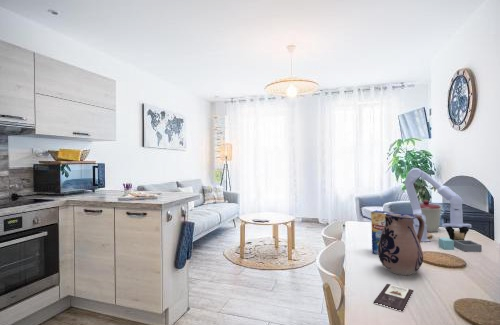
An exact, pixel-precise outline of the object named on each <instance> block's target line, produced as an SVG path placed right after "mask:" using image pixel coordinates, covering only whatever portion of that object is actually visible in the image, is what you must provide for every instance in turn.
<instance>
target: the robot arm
mask: <svg viewBox="0 0 500 325" xmlns="http://www.w3.org/2000/svg"><path fill="white" fill-rule="evenodd" d="M418 179H420V180H422V181H423V180H424V181H426V182H427V183H428V184H430V185H431V186H432V187H434V188H435V189H436V191H437V194H439V195H440V196H441V197H442V198H444V199H445V200H446V201H449V204H450V207H449V222H448V223H447V222H446V223H442V224H441V228H445V230H446V232H447V235H448V236H449V237H448V238H449V239H451V240H453V239H454V236H453V235H454V231H455V229H454V228H458V231H460V232H463V233H464V239H465V238H466V236H467V233H468V232H469V230H470V228H472V224H471V223H464V221H463V220H464V219H463V216H464V215H463V213H464V212H463V203H464V201H463V199H462V197H461V196H460V195H458V193H457V192H454V191H453V190H452V189H451V187H449V186H447V185H441V184H440V183H439V182H438V181H437V180H436V179H434V177H432V176H431V174H428V173H427V172H426V171H424V170H421V169H420V168H418V167H413V168H411V169H410V170H409V171H408V172H407V174H406V177H405V179H404V186H405V190H406V194H407V196H408V200H409V203H410V207H411V206H412V207H411V210H412V214H417V215H420V216H422V219H423V221H424V231H423V235H422V239H421V242H431V240H429V239H428V232H427V225H426V224H425V223H426V216H425V215H424V214H423V212H422V210H421V207H420V204H419V203H420V201H419V198H418V195H417V192H416V189H415V188H416V187H415V185H414V183H415V182H416V181H417V180H418ZM413 226H414V229H415V232H416V235H417V234H418V230H419V221H418V219H417V218H415V219H414V220H413Z"/></svg>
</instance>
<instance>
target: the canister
mask: <svg viewBox="0 0 500 325" xmlns="http://www.w3.org/2000/svg"><path fill="white" fill-rule="evenodd" d="M419 204H420V207H421V210H422V212H423V214H424V215H425V216H426V223H425V224H426V225H427V233H434V232H437V231H439V229H440V221H441V212H442V209H443V207H442V206H440V205H439V204H435V203H430V201H429V200H428V199H424V200H422V203H421V202H419ZM410 207H411V208H412V206H411V205H410Z"/></svg>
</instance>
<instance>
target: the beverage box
mask: <svg viewBox="0 0 500 325" xmlns="http://www.w3.org/2000/svg"><path fill="white" fill-rule="evenodd" d="M386 213H398V212H397V211H396V212H395V211H385V210H374V211H371V213H370V216H371V217H370V218H371V220H370V221H371V222H370V223H371V252H372V255H378V245H379V241H380V237H381V233H382V230H383V228H384V226H385V223H386V221H385V216H386V215H385V214H386Z"/></svg>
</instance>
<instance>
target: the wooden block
mask: <svg viewBox="0 0 500 325" xmlns="http://www.w3.org/2000/svg"><path fill="white" fill-rule="evenodd" d="M453 236H454V239H453V241H454V240H465V238H464V233H463V232H460V230H454V235H453Z"/></svg>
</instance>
